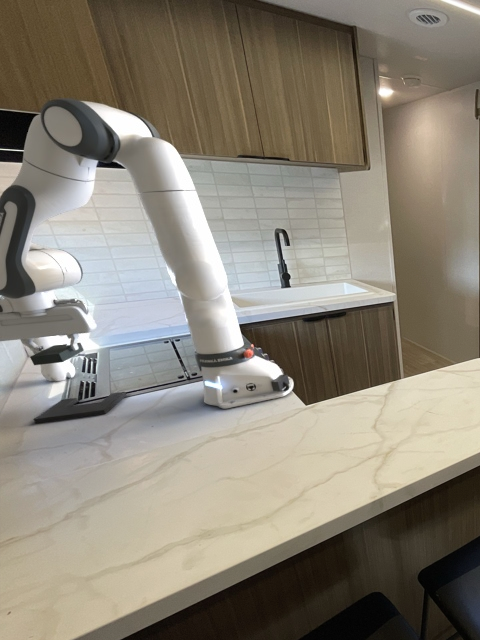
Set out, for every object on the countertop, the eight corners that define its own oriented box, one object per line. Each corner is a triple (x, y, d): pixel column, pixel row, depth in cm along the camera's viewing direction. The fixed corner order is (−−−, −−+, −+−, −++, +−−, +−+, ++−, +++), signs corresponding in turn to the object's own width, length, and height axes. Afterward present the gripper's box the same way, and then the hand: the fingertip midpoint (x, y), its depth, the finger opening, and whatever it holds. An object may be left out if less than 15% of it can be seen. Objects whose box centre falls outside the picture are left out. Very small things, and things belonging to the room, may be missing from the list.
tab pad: (84, 350, 115) (80, 342, 115) (63, 362, 107) (59, 353, 106) (57, 353, 114) (53, 345, 113) (34, 365, 105) (29, 356, 104)
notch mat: (126, 395, 115) (125, 391, 114) (105, 413, 104) (103, 409, 104) (63, 403, 110) (62, 399, 110) (35, 423, 100) (33, 419, 99)
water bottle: (57, 383, 123) (19, 303, 113) (39, 382, 124) (0, 302, 114) (84, 375, 129) (50, 297, 120) (66, 373, 131) (31, 297, 121)
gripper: (89, 295, 110) (109, 343, 115) (-10, 302, 104) (16, 353, 109) (76, 300, 104) (98, 350, 110) (-30, 308, 98) (-1, 360, 104)
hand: (57, 351), depth 109 cm, fingers closed on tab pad, 6 cm apart
